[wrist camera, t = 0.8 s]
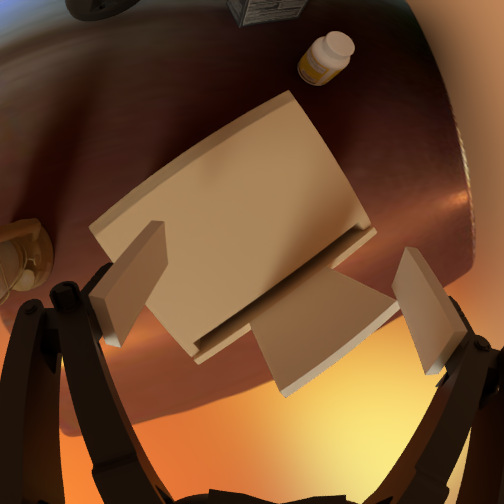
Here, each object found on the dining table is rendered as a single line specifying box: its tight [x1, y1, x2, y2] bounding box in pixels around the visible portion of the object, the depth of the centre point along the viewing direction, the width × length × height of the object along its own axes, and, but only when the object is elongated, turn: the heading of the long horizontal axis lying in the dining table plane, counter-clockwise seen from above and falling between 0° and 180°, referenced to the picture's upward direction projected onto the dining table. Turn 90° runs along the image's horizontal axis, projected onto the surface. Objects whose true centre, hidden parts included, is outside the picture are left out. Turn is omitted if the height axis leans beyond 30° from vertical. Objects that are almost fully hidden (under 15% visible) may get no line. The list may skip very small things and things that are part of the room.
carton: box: [89, 90, 371, 357], centre depth 31 cm, size 14×20×16 cm
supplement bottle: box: [298, 31, 355, 86], centre depth 32 cm, size 5×5×10 cm
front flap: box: [194, 227, 400, 398], centre depth 27 cm, size 1×20×26 cm, turn 125°
